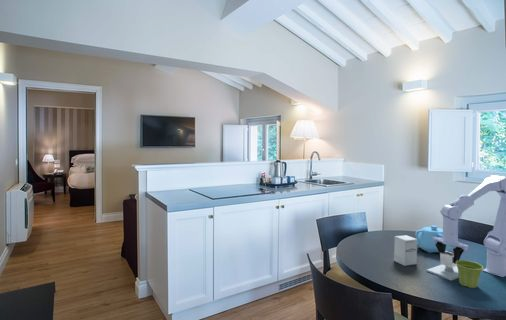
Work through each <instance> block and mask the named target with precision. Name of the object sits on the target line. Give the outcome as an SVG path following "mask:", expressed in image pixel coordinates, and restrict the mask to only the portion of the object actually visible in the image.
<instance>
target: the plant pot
mask: <svg viewBox="0 0 506 320" xmlns="http://www.w3.org/2000/svg"><path fill="white" fill-rule="evenodd" d="M456 264H457V267H458V274H459V278H458V282H459V284H460V285H461V286H463V287H467V288H468V289H469V288H470V289H476V288H478V285H479V280H480V278H481V277H480V276H481V273H482V272H483V269H484V266H483V264H480V263H478V262H475V261H471V260H466V259H465V260H463V259H462V260H461V259H459V260H458V261H456Z"/></svg>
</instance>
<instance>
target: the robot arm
mask: <svg viewBox="0 0 506 320" xmlns="http://www.w3.org/2000/svg"><path fill="white" fill-rule="evenodd" d="M489 192H496V193H497V194H498V196H499V197H500V200H499V204H498V208H497V213H496V215H495V220H494V224H493V228H492V230H490V231H489V232H487V235H486V237H485V238H484V240H483V245H484V247H485V248H486V251H487V252H486V267H485V268H483V269H482V272H485V273H488V274H491V275H494V276H498V277H501V278H504V277H506V176H505V175H504V176H502V175H497V174H492V175H489V176H488V177H486V178H484V180H483V182H481V184H480V185H478V186H476V187H475V188H474V189H473V190H472V191H471V192H469V193H468V194H462V195H459V196H458V198H457V199H455V200H454V201H451V202H449V204H445V205H443V206H442V208H441V210H440V214H441V216H442V229H443V238H438V237H433V242H437V243H436V244H435V245H436V247H437V249H438V251H439V252H438V254H439V255H440V253H441V252H444V251H445V249H446V245H450V246H451V247H454V248H452V251H453V252H452V253H454V264H456V261H458V260H461V259H460V258H461V256H462V255H463V254H464V252H465V251H469V245H468V244H465V243H462V242H460V241H458V238H459V237H458V235H459V219H461V217H462V214H464V212H465V211H467V210H468V209H470V208H471V207H472V206H474V204H475V201H476V200H478V199H479V198H481V197H483V196H484V195H486V194H488V193H489Z"/></svg>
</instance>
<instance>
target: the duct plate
mask: <svg viewBox="0 0 506 320" xmlns="http://www.w3.org/2000/svg"><path fill="white" fill-rule="evenodd" d="M426 272H428V273H430V274H434V275H435V276H439V277H441V278H444V279H446V280H449V281H454V280H457V279H459V274H458V267H457V266H456V267H453V268H451V267H448V266H445V265H442V264H439V265H436V266H434V267H430V268H428V269H426Z"/></svg>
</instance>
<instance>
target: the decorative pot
mask: <svg viewBox="0 0 506 320" xmlns="http://www.w3.org/2000/svg"><path fill="white" fill-rule="evenodd" d="M414 236H415V239H417V246H419V248H420V249H422V250H424V251H425V252H427V253H428V254H429V253H430V254H433V253H439V251H438V249H437V247H436V245H435V244H436V243H437V242H433V237H438V238H443V228H440V227H438V225H430V226H425V227H422V228H421V229H417V230H416V231H415V235H414ZM451 249H452V246H450V245H446V249H445V251H448V252H450V251H451Z"/></svg>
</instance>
